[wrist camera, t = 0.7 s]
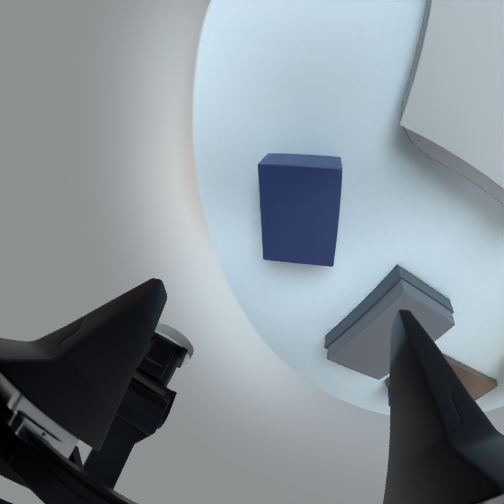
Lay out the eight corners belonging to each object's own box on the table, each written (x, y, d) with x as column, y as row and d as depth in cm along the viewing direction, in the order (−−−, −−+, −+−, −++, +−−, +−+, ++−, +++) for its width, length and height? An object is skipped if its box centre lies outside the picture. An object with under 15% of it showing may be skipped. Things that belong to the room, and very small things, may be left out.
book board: (459, 404, 29) (460, 409, 28) (385, 379, 29) (385, 386, 28) (496, 380, 24) (497, 386, 23) (431, 347, 24) (433, 354, 23)
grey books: (377, 359, 27) (378, 382, 24) (325, 335, 26) (322, 361, 24) (450, 300, 20) (458, 325, 17) (397, 264, 20) (403, 290, 17)
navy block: (334, 245, 21) (333, 267, 18) (271, 239, 22) (263, 259, 20) (340, 156, 17) (342, 168, 14) (267, 153, 18) (257, 163, 16)
